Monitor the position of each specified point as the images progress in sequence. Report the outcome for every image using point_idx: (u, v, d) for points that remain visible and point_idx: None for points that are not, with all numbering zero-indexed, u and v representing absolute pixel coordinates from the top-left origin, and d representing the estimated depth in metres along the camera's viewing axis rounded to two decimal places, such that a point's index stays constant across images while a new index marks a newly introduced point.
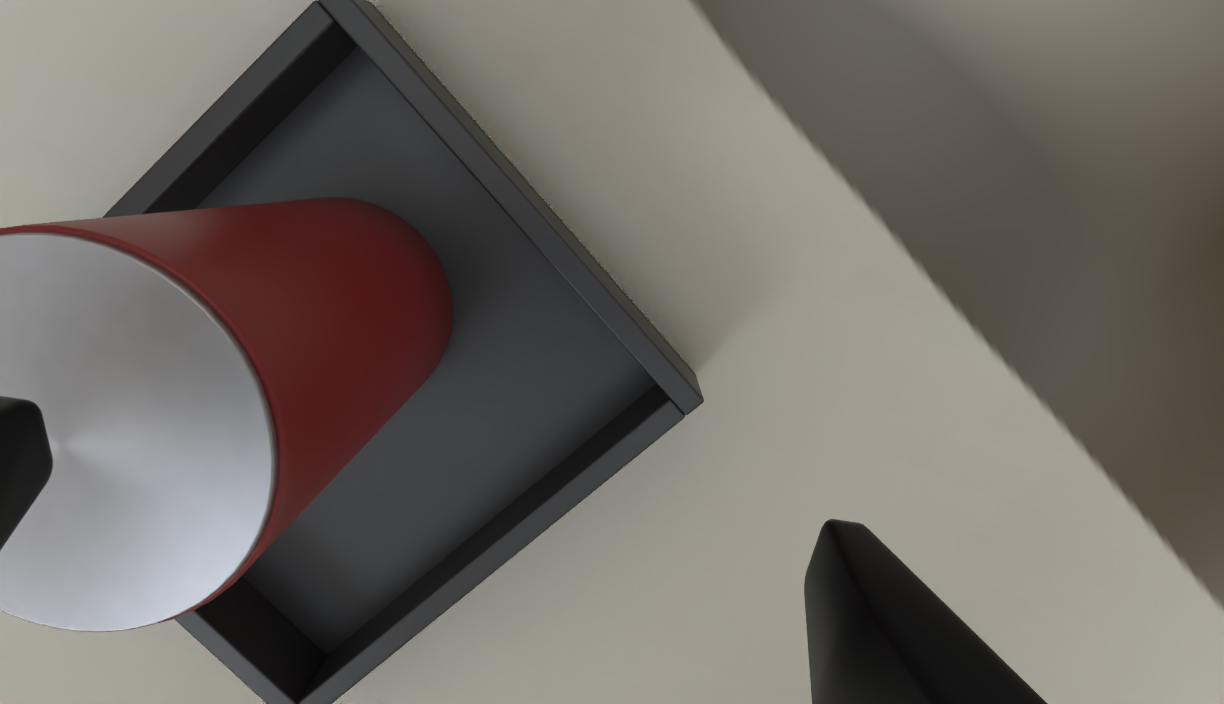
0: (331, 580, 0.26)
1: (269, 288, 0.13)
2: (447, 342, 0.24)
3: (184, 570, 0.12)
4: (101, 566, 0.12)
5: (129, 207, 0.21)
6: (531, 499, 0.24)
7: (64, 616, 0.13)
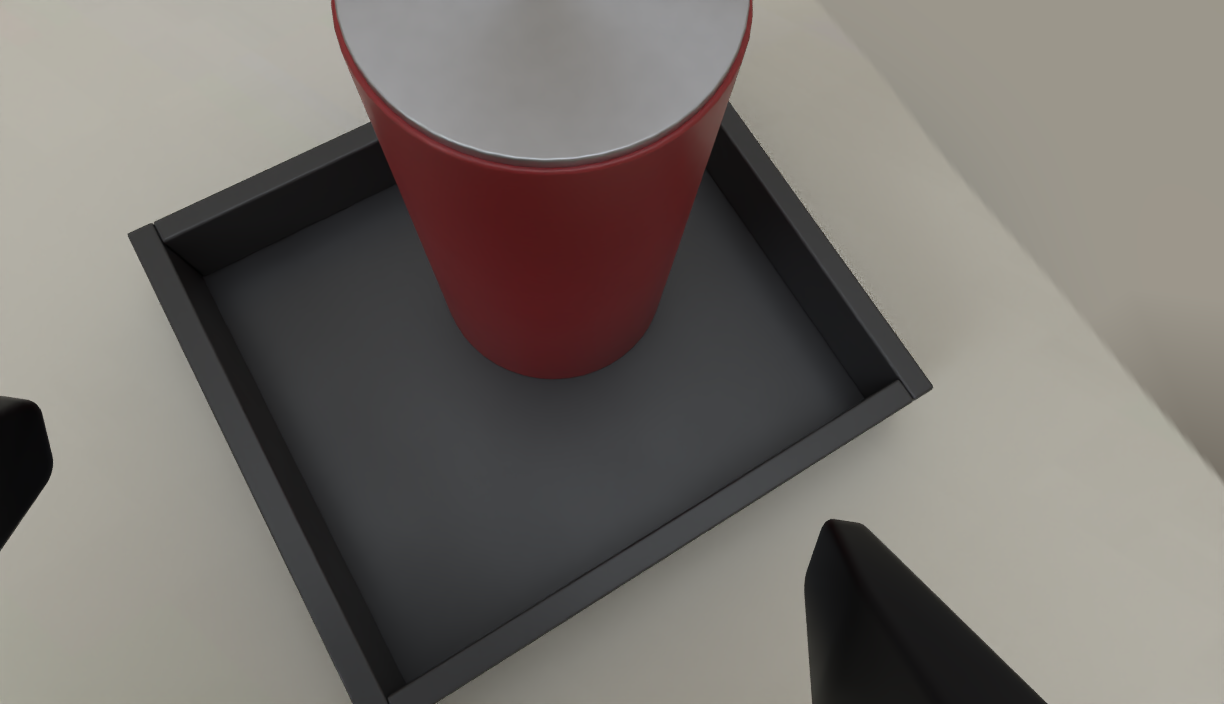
0: (447, 576, 0.21)
1: None
2: (650, 323, 0.23)
3: (623, 110, 0.11)
4: (536, 90, 0.11)
5: None
6: None
7: (475, 132, 0.11)
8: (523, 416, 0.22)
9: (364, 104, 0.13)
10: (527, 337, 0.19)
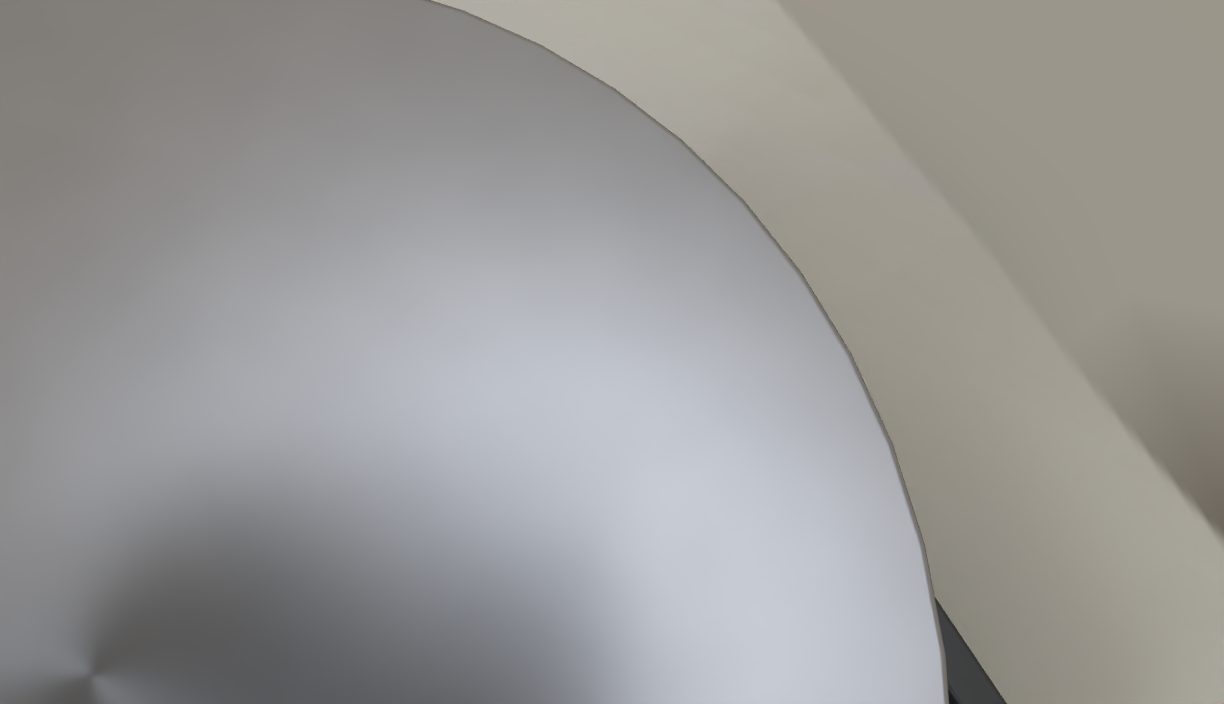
0: None
1: None
2: None
3: None
4: None
5: None
6: None
7: None
8: None
9: None
10: None
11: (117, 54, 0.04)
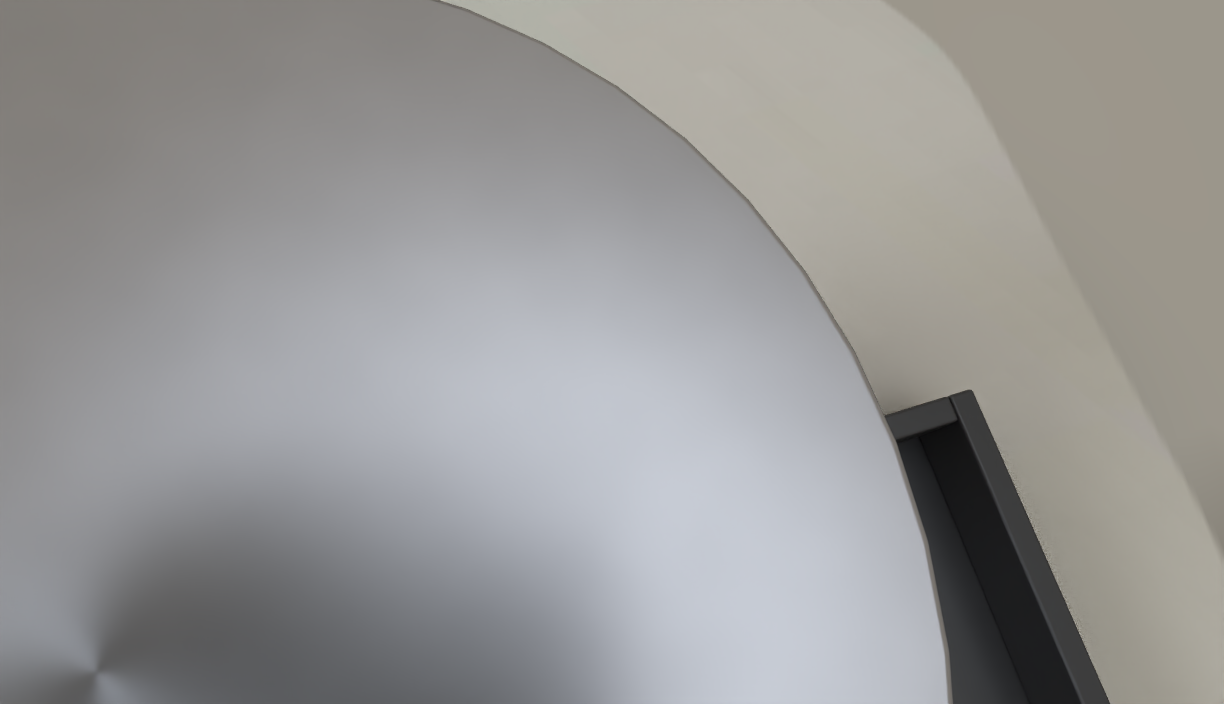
0: None
1: None
2: None
3: None
4: None
5: None
6: None
7: None
8: None
9: None
10: None
11: (122, 52, 0.04)
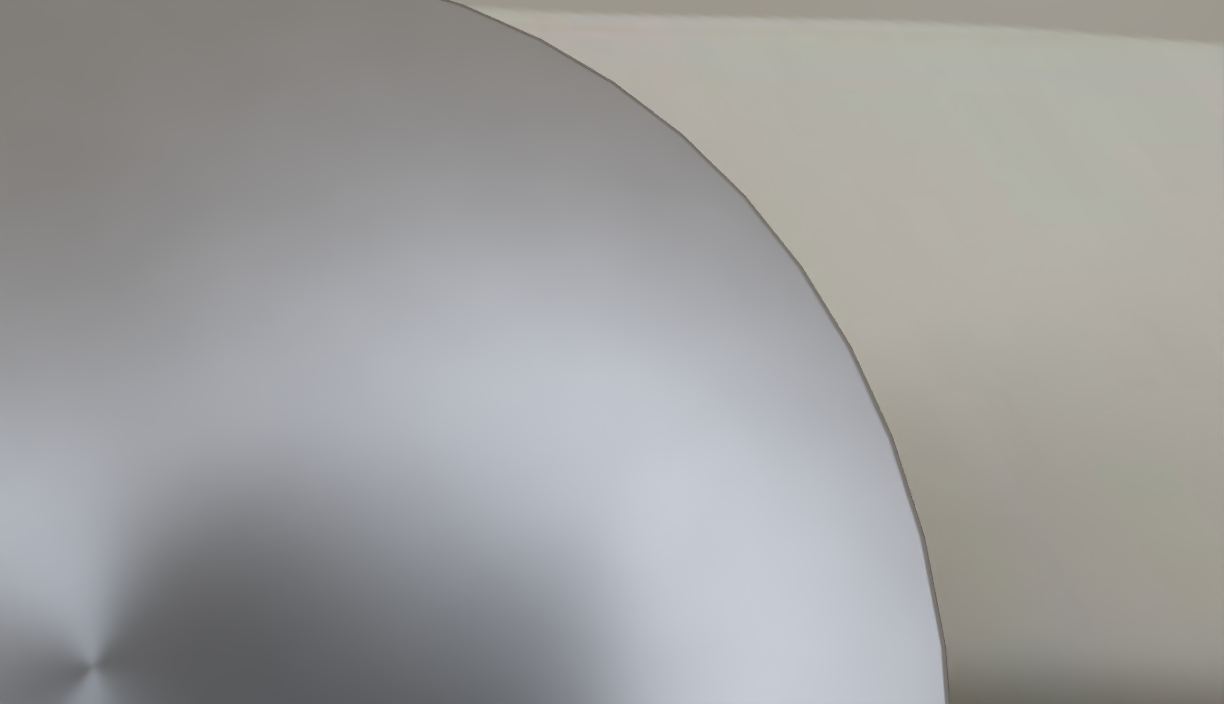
0: None
1: None
2: None
3: None
4: None
5: None
6: None
7: None
8: None
9: None
10: None
11: (117, 48, 0.04)
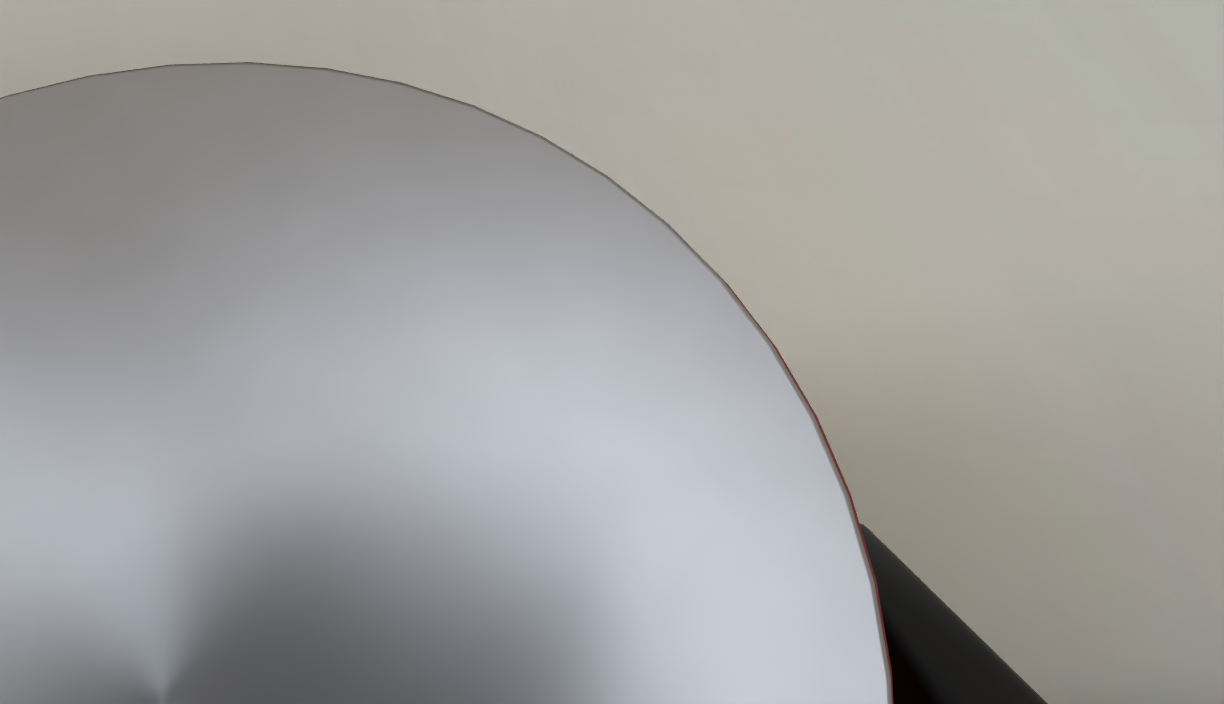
0: None
1: None
2: None
3: None
4: None
5: None
6: None
7: None
8: None
9: None
10: None
11: (171, 148, 0.04)
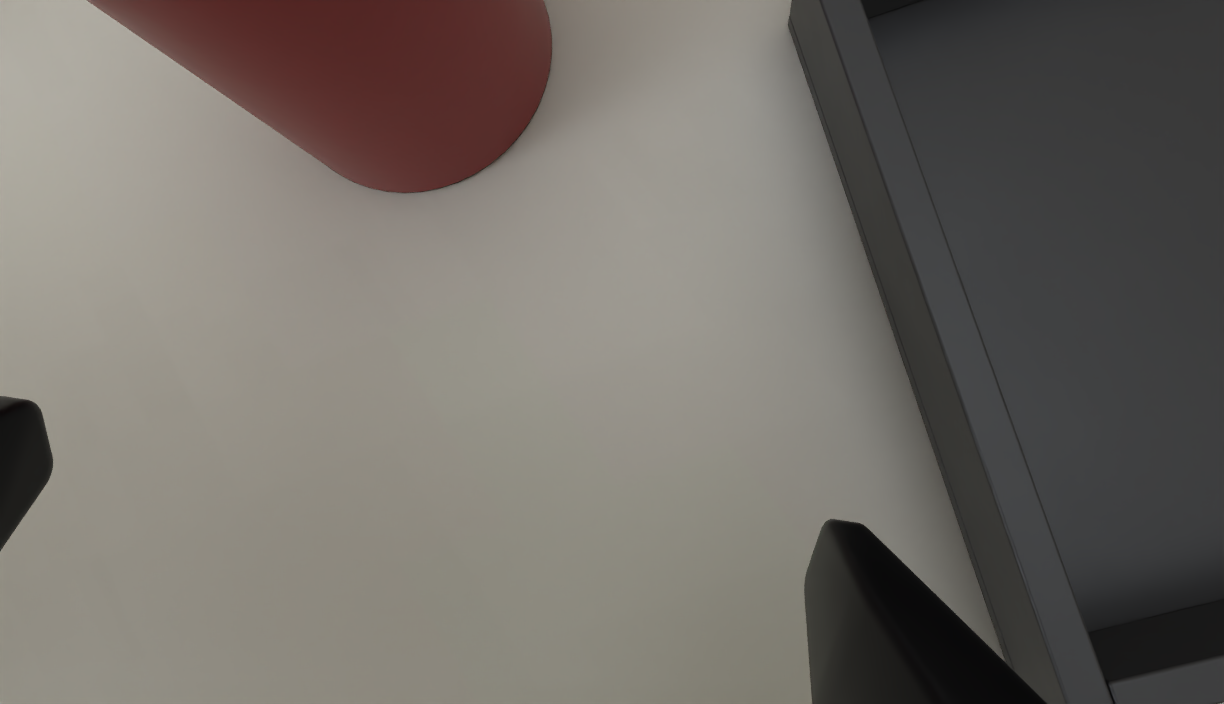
0: (1124, 516, 0.15)
1: None
2: (548, 67, 0.18)
3: None
4: None
5: None
6: None
7: None
8: None
9: None
10: (355, 123, 0.14)
11: None
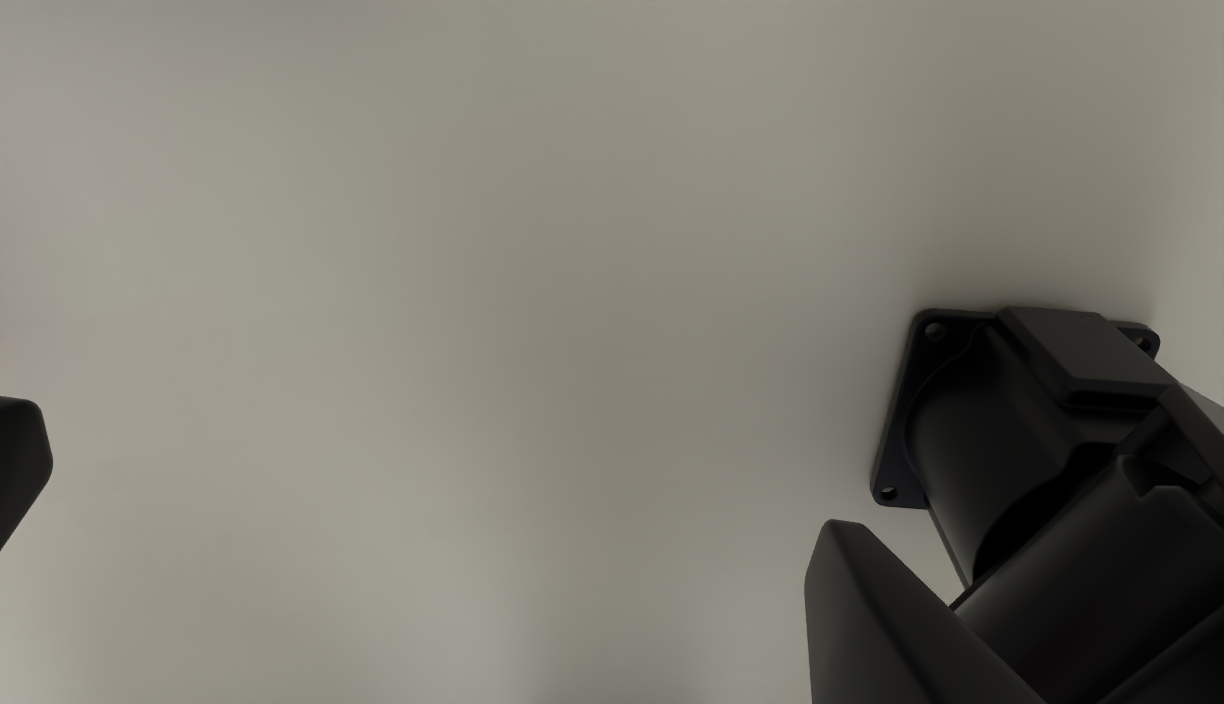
0: None
1: None
2: None
3: None
4: None
5: None
6: None
7: None
8: None
9: None
10: None
11: None
